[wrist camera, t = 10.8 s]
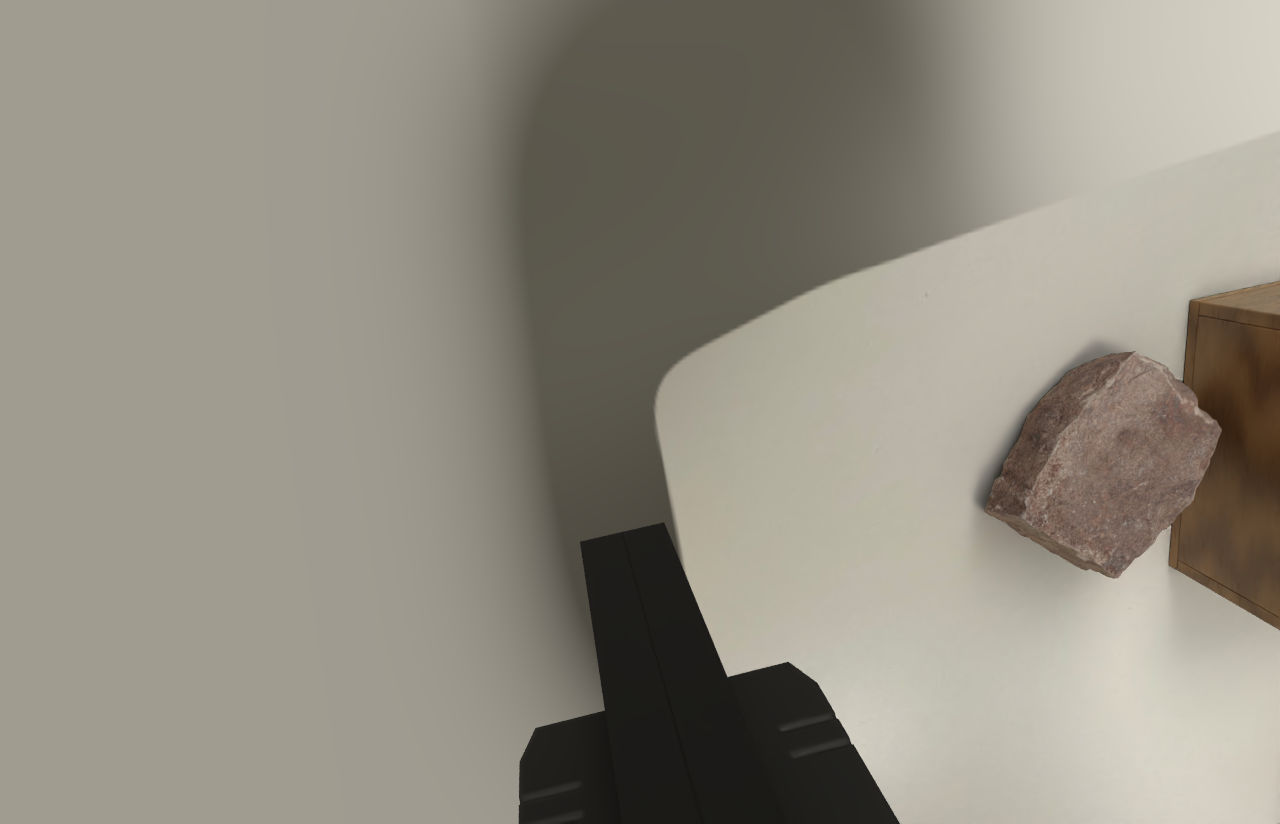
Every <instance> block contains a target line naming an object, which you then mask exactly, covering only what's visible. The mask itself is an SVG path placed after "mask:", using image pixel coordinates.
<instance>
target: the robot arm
mask: <svg viewBox="0 0 1280 824" xmlns="http://www.w3.org/2000/svg"><path fill="white" fill-rule="evenodd" d="M580 544H581V551H582V558H583V564H584V571H585V578H586V585H587V592H588V598H589V605H590V612H591V619H592V625H593V632H594V639H595V646H596V652H597V659H598V666H599V673H600V679H601V686H602V693H603V700H604V707H605V711H602V712H598V713H594V714H590V715H586V716H582V717H578V718H574V719H570V720H566V721H562V722H558V723H554V724H550V725H546V726H542V727H538V728H535V730H534V732H533V735H532V737H531V739H530V741H529V743H528V745H527V748H526V749H525V752H524V754H523V756H522V758H521V760H520V773H519V774H520V775H519V799H520V805H519V824H900V823H899V821H898V820H897V818H896V816H895V815H894V813H893V811H892V809H891V808H890V806H889V804H888V803H887V801H886V799H885V798H884V796H883V794H882V792H881V791H880V789H879V787H878V786H877V784H876V782H875V780H874V779H873V777H872V775H871V774H870V772H869V770H868V769H867V767H866V765H865V763H864V762H863V760H862V758H861V757H860V755H859V753H858V751H857V750H856V748H855V746H854V745H853V744H851V742H850V738H849V736H848V734H847V733H846V731H845V729H844V728H843V726H842V724H841V722H840V721H839V719H837V718H836V716H835V712H834V711H833V709H832V707H831V705H830V704H829V702H828V700H827V699H826V697H825V695H824V694H823V692H822V690H821V688H820V687H819V685H818V683H817V682H815V681H814V680H812V679H811V678H810V677H808V676H807V675H806V674H804V673H803V672H802V671H800V670H799V669H797V668H796V667H795V666H793V665H792V664H791V663H789V662H786V663H782V664H778V665H774V666H770V667H766V668H762V669H758V670H754V671H750V672H746V673H742V674H738V675H734V676H730V677H727V675H726V673H725V670H724V668H723V665H722V663H721V660H720V658H719V656H718V653H717V651H716V648H715V646H714V643H713V641H712V638H711V636H710V634H709V631H708V629H707V626H706V624H705V621H704V619H703V616H702V614H701V612H700V609H699V607H698V604H697V602H696V599H695V597H694V594H693V592H692V590H691V587H690V585H689V582H688V580H687V577H686V575H685V572H684V570H683V567H682V565H681V563H680V560H679V558H678V555H677V553H676V550H675V548H674V546H673V543H672V541H671V538H670V536H669V534H668V531H667V528H666V526H665V524H664V523H660V524H656V525H651V526H647V527H642V528H638V529H634V530H629V531H625V532H621V533H616V534H612V535H607V536H603V537H599V538H594V539H590V540H586V541H581V542H580Z"/></svg>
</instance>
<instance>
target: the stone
mask: <svg viewBox="0 0 1280 824" xmlns="http://www.w3.org/2000/svg"><path fill="white" fill-rule="evenodd" d="M1221 431H1222V429H1221V428H1220V426H1219V425H1218V423H1217V420H1214V419H1212V418H1211V417H1210V415H1209V414H1208V413H1207V412H1204V411H1203V410H1201V409H1200V408H1199V407H1198V399H1197V397H1196V395H1195V393H1194V392H1193V391H1192V390H1191V389H1190V388H1189V387H1188V386H1186V385H1185V384H1184V383H1182V382H1181V381H1180V380H1176V379H1174V376H1173V374H1172V373H1171V372H1170V371H1169V369H1168V367H1166V366H1164V365H1162V364H1161V363H1159V362H1156V361H1153V360H1151V359H1149V358H1147V357H1144V356H1141V355H1139V354H1138V353H1137V352H1136V351H1133V352H1124V353H1119V354H1109V355H1106V356H1103V357H1101V358H1098V359H1095V360H1093V361H1091V362H1090V363H1085V364H1083V365H1081V366H1079V367H1077V368H1075V369H1072V370H1070V371H1069V372H1067V373H1066V374H1065V375H1064V376H1063V378H1062V379H1061V381H1060V383H1059V384H1057V385H1055V386H1054V387H1053V388H1052V389H1051V390H1050V391H1049V392H1048V393H1047V394H1046V395H1045V396H1044V397H1043V398H1042V399H1041V400H1040V401H1039V403H1038V404H1037V406H1036V407H1035V408H1034V409H1033V411H1032V412H1031V413H1030V414H1028V415H1027V418H1026V422H1025V424H1024V425H1023V430H1022V433H1021V435H1020V438H1019V440H1018V442H1017V443H1016V444H1015V446H1014V447H1013V448H1012V450H1011V451H1010V453H1009V455H1008V457H1007V459H1006V460H1005V462H1004V463H1003V469H1002V473H1001V475H1000V477H999V478H997V479H995V481H994V484H993V486H992V494H991V495H990V496H989V499H988V502H987V505H986V507H985V513H987V514H988V515H989V516H993V517H995V518H997V519H999V520H1001V521H1004V522H1006V523H1007V524H1008V525H1010V526H1011V527H1012V528H1013V529H1015V530H1016V531H1017V532H1018V533H1019V534H1020V535H1022V536H1025V537H1029V538H1030V539H1031V540H1033V541H1035V542H1037V543H1038V544H1040V545H1042V546H1043V547H1045V548H1046V549H1047V550H1049V551H1050V552H1052V553H1054V554H1056V555H1058V556H1060V557H1062V558H1064V559H1065V560H1067V561H1068V562H1070V563H1072V564H1073V565H1075V566H1077V567H1079V568H1081V569H1084V570H1088V569H1091V570H1093V571H1096V572H1100V573H1101V574H1103V575H1105V576H1107V577H1110V578H1119V576H1120V575H1121V573H1122V571H1124V570H1126V568H1127V567H1128V566H1129V565H1130V564H1131V563H1132V562H1133V560H1134V559H1135V558H1137V557H1139V556H1141V555H1142V554H1143V553H1144V552H1145V551H1146V550H1147V549H1148V548H1149V547H1150V546H1151V545H1152V544H1153V543H1154V542H1155V540H1156V538H1157V536H1158V534H1159V533H1160V532H1161V531H1162V530H1163V529H1166V528H1167V527H1169V526H1170V525H1171V524H1172V523H1173V522H1174V521H1175V519H1176V517H1177V516H1178V515H1179V514H1180V513H1181V512H1182V510H1183V509H1184V508H1185V507H1187V506H1188V505H1190V504H1191V502H1192V501H1193V500H1194V496H1195V491H1196V488H1197V487H1198V485H1199V483H1200V482H1201V480H1202V478H1203V475H1204V473H1205V471H1206V469H1207V467H1208V466H1209V464H1210V458H1211V456H1212V455H1213V453H1214V450H1215V448H1216V445H1217V442H1218V438H1219V436H1220V434H1221Z"/></svg>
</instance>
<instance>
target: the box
mask: <svg viewBox="0 0 1280 824" xmlns="http://www.w3.org/2000/svg"><path fill="white" fill-rule="evenodd" d="M1184 384H1185V385H1186V386H1188V387H1189V388H1190V389H1191V390H1192V391H1193V392H1194V393H1195V395H1196V397H1197V399H1198V407H1199V408H1200V409H1201V410H1203V411H1204V412H1207V413H1208V414H1209V415H1210V417H1211V418H1212V419H1214V420H1217V423H1218V425H1219V426H1220V428H1221V429H1222V431H1221V434H1220V436H1219V438H1218V442H1217V445H1216V448H1215V450H1214V453H1213V455H1212V456H1211V458H1210V464H1209V466H1208V467H1207V469H1206V471H1205V473H1204V475H1203V478H1202V480H1201V482H1200V483H1199V485H1198V487H1197V488H1196V491H1195V496H1194V500H1193V501H1192V502H1191V504H1190V505H1188V506H1187V507H1185V508H1184V509H1183V510H1182V512H1181V513H1180V514H1179V515H1178V516H1177V517H1176V519H1175V521H1174V522H1173V523H1172V533H1171V546H1170V558H1169V566H1171V567H1172V568H1174V569H1176V570H1178V571H1180V572H1181V573H1183V574H1185V575H1186V576H1188V577H1190V578H1192V579H1193V580H1195V581H1197V582H1198V583H1200V584H1202V585H1204V586H1205V587H1207V588H1209V589H1210V590H1212V591H1214V592H1215V593H1217V594H1219V595H1221V596H1222V597H1224V598H1226V599H1227V600H1229V601H1231V602H1233V603H1234V604H1236V605H1238V606H1239V607H1241V608H1243V609H1245V610H1246V611H1248V612H1250V613H1251V614H1253V615H1255V616H1256V617H1258V618H1260V619H1262V620H1263V621H1265V622H1267V623H1268V624H1270V625H1272V626H1274V627H1275V628H1277V629H1279V630H1280V281H1277V282H1273V283H1268V284H1264V285H1259V286H1254V287H1250V288H1245V289H1240V290H1236V291H1231V292H1226V293H1222V294H1217V295H1212V296H1208V297H1203V298H1198V299H1194V300H1190V310H1189V323H1188V335H1187V347H1186V360H1185V372H1184Z"/></svg>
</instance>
